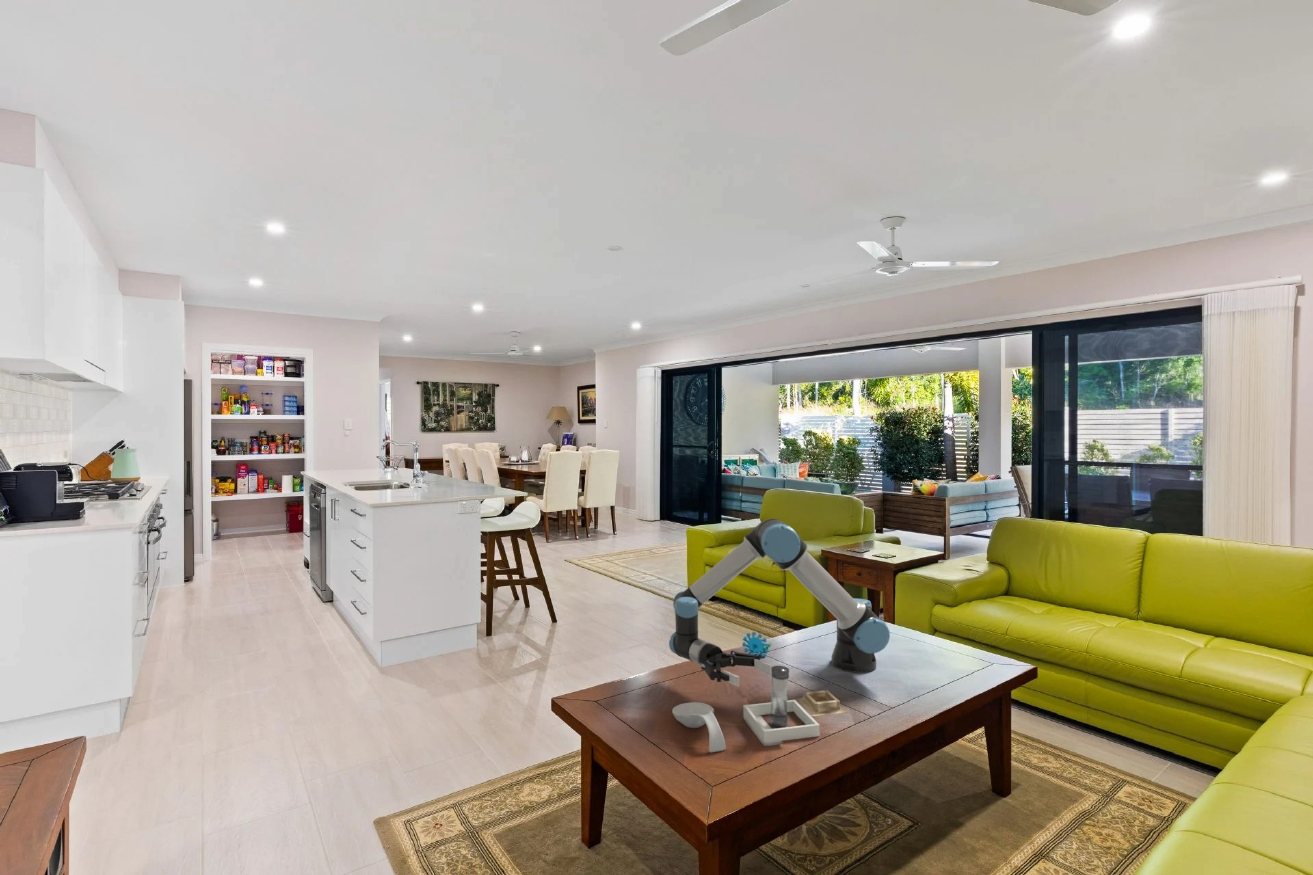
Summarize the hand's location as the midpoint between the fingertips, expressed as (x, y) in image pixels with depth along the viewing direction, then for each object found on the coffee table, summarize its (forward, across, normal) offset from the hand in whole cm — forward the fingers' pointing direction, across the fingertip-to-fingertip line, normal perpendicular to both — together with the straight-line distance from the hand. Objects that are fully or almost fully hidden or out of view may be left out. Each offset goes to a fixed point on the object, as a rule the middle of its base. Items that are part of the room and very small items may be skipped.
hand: (755, 675), depth 188 cm
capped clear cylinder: (+9, 0, -11) cm, 14 cm away
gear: (-34, -36, -12) cm, 51 cm away
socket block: (+9, -19, -12) cm, 24 cm away
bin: (+10, 0, -12) cm, 15 cm away
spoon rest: (-3, +18, -12) cm, 22 cm away
